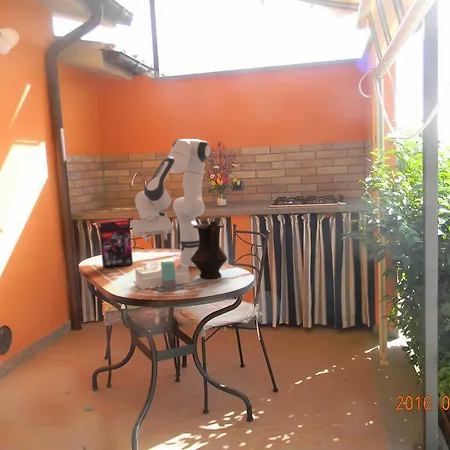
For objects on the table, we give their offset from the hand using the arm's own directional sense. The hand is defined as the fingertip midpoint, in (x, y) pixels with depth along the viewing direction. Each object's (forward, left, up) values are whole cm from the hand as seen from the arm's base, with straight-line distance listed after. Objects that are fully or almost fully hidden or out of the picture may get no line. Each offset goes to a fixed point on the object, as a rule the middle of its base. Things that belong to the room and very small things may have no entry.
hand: (156, 240), depth 246 cm
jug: (-27, +1, -22) cm, 35 cm away
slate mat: (-2, +12, -22) cm, 25 cm away
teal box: (-2, +12, -21) cm, 24 cm away
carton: (-2, -3, -22) cm, 22 cm away
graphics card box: (+10, -57, -22) cm, 62 cm away
